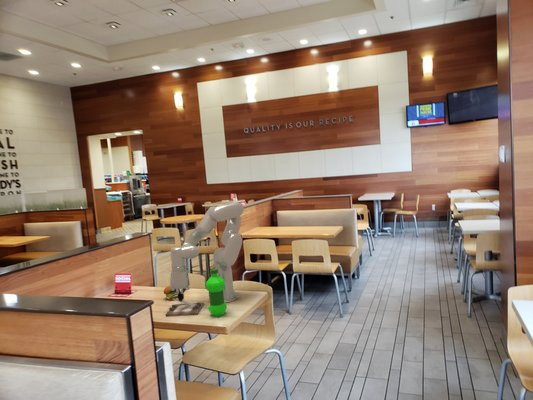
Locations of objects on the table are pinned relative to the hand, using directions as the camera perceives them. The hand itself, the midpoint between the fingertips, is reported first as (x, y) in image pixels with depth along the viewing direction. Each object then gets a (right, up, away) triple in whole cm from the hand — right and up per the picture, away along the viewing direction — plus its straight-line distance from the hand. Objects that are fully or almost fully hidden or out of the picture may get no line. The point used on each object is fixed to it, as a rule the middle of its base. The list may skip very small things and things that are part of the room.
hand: (181, 300), depth 222 cm
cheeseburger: (-10, -6, +25) cm, 27 cm away
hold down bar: (+3, -2, 0) cm, 3 cm away
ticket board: (+2, -6, +1) cm, 7 cm away
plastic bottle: (+23, -5, -10) cm, 25 cm away
